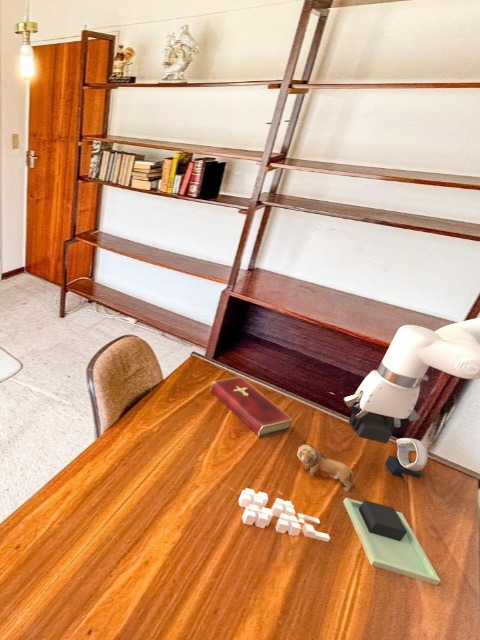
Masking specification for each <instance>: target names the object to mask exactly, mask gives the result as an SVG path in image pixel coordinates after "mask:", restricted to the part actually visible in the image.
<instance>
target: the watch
mask: <svg viewBox="0 0 480 640" xmlns="http://www.w3.org/2000/svg"><path fill="white" fill-rule="evenodd" d="M396 443H397V444H396V448H397V456H393V455H388V458H387V459H386V461H385V462H384V465H385V467H386V469H387V470H388V471H389V472H390V475H392V476H395V477H398V478H402V479H405V477H404V475H408V476H410V477H411V476H412V477H414V478H418V479H421V477H422V476H423V474H422V473H421V470H423V469H424V468H425V466H426V465H427V463H428V459H429V457H428V455H429V453H428V448H427V447H426V445H425V443H424V442H422V441H421V440H419V439H416V438H411V437H402V438H398V439H396ZM410 451H411V452H413V451H415V452H416V458H415V460H414V461H411V460H410V459H409V454H410ZM402 474H404V475H402Z"/></svg>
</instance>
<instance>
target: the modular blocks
mask: <svg viewBox="0 0 480 640" xmlns="http://www.w3.org/2000/svg"><path fill="white" fill-rule="evenodd" d="M268 501H269V497H268V494H267V493H266V492H264V491H263V492H262V491H258V492H257V493H255V489H251V488H248V487H245V489H242V491H241V493H240V496H239V498H238V504H239V507H241V508H243V509H244V511H243V514H242V516H241V518H242V522H243V524H245V525H249V526H253V524H254V525H255V527H257V528H261V529H265V527H269V526H270V523H271V521H272V519H273V517H276V518H278V519H277V520H276V521H275V522H276V524H275V526H274V529H275V532H276V533H280V534H286V533H288V536H291V537H295V536H299V534H300V533H301V531H302V533H303V536H304V537H306V538H307V537H308V538H311V539H315V540H319V541H323V542H326V543H329V542H330V541H331V537H330V535H329V534H328V533H325V532H321V531H318V530H315V528H314V525H313V524H309V523H306V522H305V521H307V522H310V523H314V524H317V525H320V524H321V522H320V519H319V518H317V517H314V516H311V515H307V514H303V513H300V512H296V510H295V505H293V504H292V501H290V500H284V499H282V498H279V497H275V501H274V503H273V504H272V506H271V508H268V507H266V506H267V503H268ZM296 515H297V516H296ZM300 523H301V524H303V526H301V524H300Z"/></svg>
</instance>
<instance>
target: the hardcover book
mask: <svg viewBox="0 0 480 640" xmlns="http://www.w3.org/2000/svg"><path fill="white" fill-rule="evenodd" d="M209 387H210V388H209V390H210V392H212V394H213V395H214V396H215V397H217V398H218V399H219V400H220V401H221V402H222V403H223V404H224V405H225V406H226V407H227V408H228V409H229V410H230V411H231V412H232V413H233V414H234V415H236V417H238V419H240V421H242V422H243V423H244V424H245V425H246V426H247V427H248V428H249V429H250V430H251V431H252V432H253V433H254V434H255V435H256V436H257V437H259V438H260V437H261V438H262V437H265V436H270V435H274V434H277V433H282V432H286V431H290V430H291V428H290V427H289V426H290V424H291V422H294V418H292V417H291V416H290V415H288V413H286V412H285V411H283V409H282V408H280V407H278V405H277V404H276V403H274V402H273V401H271V400H270V399H269V398H268V397H267V396H266V395H264V394H263V393H262V392H261V391H260V390H258V388H256V387H255V386H254V385H252V384H251V383H249V381H247V380H246V379H245V378H244V377H242V376H241V375H240V376H235V377H229V378H224V379H218V380H213V381H212V382H211V384H210V386H209Z"/></svg>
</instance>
